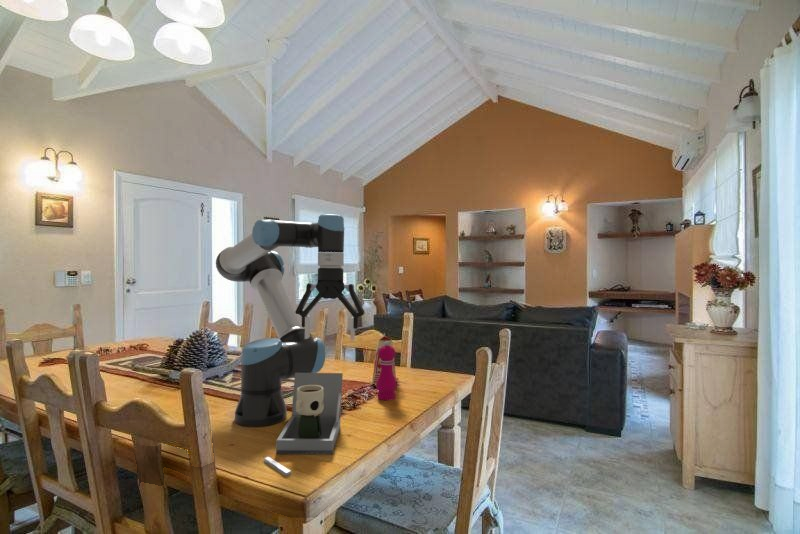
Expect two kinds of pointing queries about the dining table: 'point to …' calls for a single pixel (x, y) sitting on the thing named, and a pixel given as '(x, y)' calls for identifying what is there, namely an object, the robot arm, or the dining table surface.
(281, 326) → the robot arm
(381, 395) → the pepper mill
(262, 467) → the dining table surface
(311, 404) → the character mug
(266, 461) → the rod
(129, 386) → the dining table surface
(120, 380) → the dining table surface
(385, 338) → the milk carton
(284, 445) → the case
